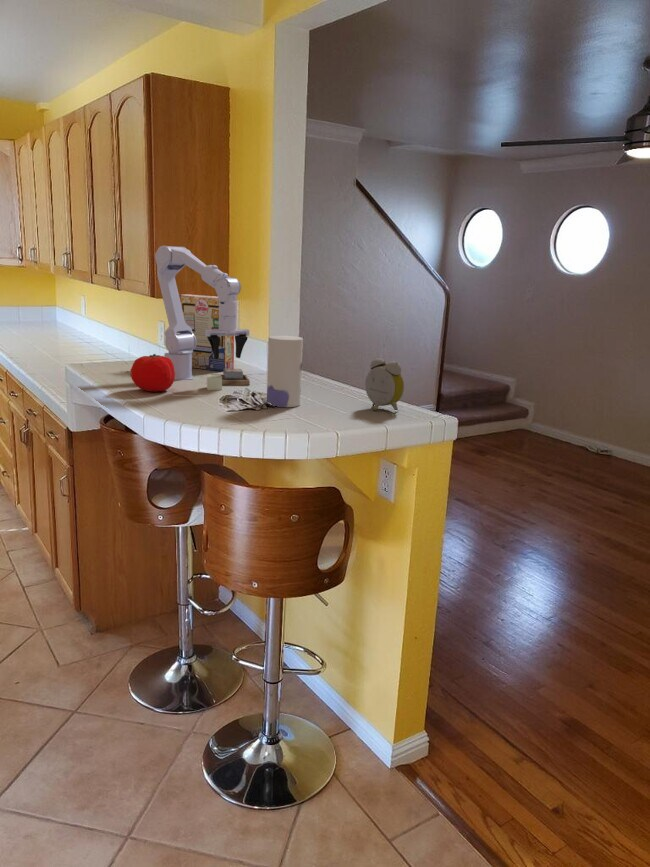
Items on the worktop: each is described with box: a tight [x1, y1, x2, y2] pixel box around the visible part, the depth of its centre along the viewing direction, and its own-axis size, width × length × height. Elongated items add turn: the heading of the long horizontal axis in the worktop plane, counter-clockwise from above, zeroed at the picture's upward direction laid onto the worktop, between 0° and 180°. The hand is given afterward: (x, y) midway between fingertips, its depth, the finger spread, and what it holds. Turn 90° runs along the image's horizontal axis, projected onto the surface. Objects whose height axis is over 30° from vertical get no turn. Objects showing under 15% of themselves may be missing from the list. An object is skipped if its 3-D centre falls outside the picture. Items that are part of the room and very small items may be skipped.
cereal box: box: [179, 294, 235, 372], centre depth 249 cm, size 20×6×27 cm, turn 65°
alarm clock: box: [364, 357, 405, 411], centre depth 196 cm, size 12×7×15 cm, turn 43°
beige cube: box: [206, 374, 223, 391], centre depth 214 cm, size 4×4×4 cm
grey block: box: [222, 368, 244, 380], centre depth 226 cm, size 6×6×4 cm
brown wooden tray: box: [210, 373, 251, 387], centre depth 226 cm, size 12×11×2 cm
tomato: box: [130, 353, 176, 392], centre depth 207 cm, size 12×13×12 cm
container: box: [266, 334, 304, 408], centre depth 197 cm, size 10×10×20 cm
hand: (227, 358), depth 218 cm, fingers open, 7 cm apart
